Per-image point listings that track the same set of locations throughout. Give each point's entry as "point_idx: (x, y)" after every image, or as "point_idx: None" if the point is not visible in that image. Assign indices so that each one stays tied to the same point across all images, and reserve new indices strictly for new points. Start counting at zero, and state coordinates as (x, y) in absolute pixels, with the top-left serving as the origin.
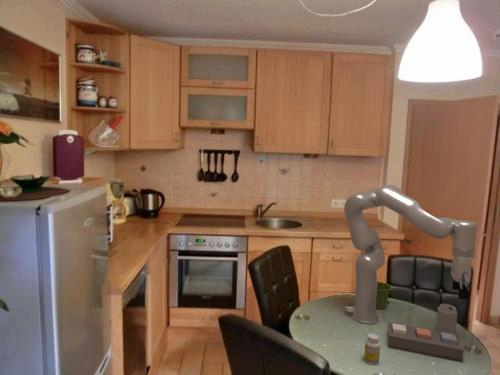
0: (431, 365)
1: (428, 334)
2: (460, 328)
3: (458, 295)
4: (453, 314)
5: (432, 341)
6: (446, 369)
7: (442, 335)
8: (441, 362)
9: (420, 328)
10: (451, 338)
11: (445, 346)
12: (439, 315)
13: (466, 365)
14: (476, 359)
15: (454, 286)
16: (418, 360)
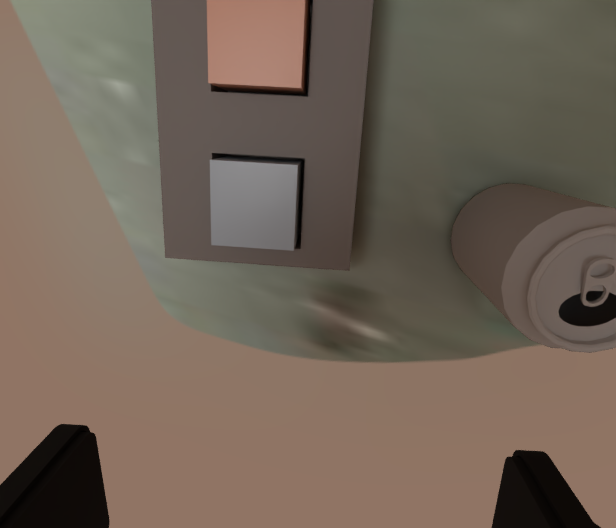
0: (90, 75)
1: (220, 65)
2: None
3: (57, 452)
4: (503, 308)
5: (190, 91)
6: (90, 147)
7: (245, 166)
8: (145, 135)
9: (300, 16)
10: (225, 216)
11: (160, 164)
12: (534, 207)
13: None
14: (247, 309)
15: (531, 519)
16: (107, 7)
